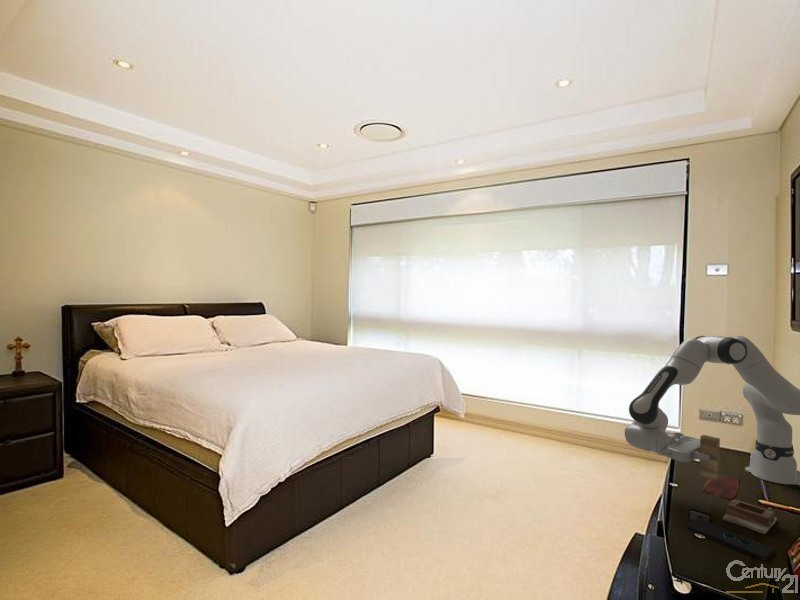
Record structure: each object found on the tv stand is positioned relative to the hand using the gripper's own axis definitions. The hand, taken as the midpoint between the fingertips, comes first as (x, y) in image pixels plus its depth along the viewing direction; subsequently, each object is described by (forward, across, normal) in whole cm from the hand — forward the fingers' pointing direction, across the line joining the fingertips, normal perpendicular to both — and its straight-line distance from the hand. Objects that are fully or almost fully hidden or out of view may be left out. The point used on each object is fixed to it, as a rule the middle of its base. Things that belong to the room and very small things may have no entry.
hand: (712, 456), depth 154 cm
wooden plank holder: (+11, 0, +18) cm, 21 cm away
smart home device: (+11, -21, +19) cm, 30 cm away
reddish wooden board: (-4, +24, +19) cm, 31 cm away
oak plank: (-1, 0, +8) cm, 8 cm away
